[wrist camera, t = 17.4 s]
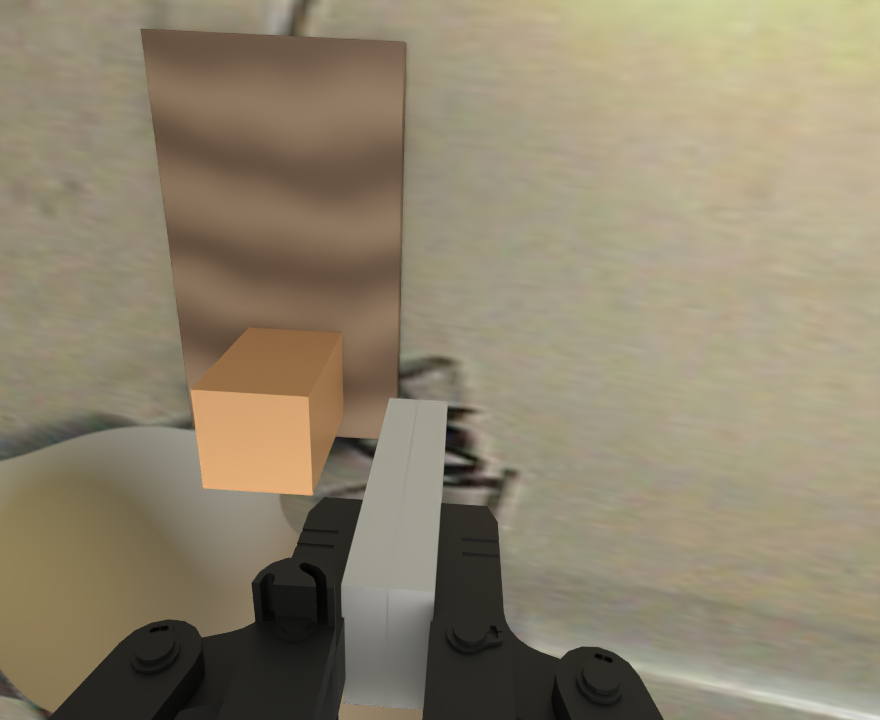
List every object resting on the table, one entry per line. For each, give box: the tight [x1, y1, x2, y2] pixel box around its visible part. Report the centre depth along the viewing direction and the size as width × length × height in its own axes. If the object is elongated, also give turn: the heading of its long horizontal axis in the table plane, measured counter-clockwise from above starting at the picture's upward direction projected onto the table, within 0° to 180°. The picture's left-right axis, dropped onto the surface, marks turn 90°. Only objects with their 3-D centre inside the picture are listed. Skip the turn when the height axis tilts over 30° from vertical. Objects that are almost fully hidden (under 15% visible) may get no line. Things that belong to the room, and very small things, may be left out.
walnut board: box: [141, 29, 406, 439], centre depth 41 cm, size 26×15×2 cm, turn 177°
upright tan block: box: [191, 327, 344, 495], centre depth 39 cm, size 6×6×10 cm
